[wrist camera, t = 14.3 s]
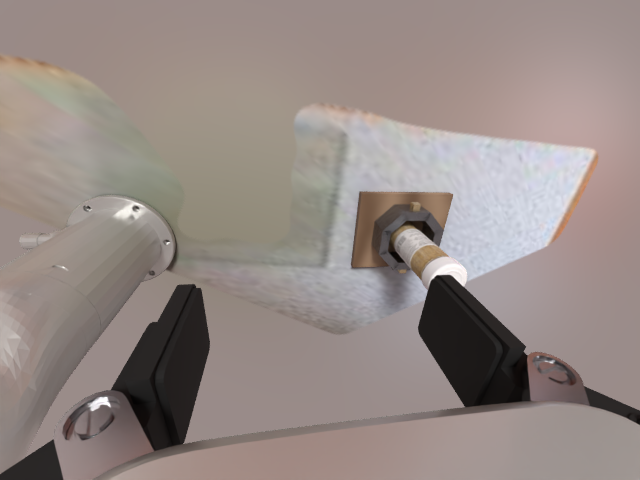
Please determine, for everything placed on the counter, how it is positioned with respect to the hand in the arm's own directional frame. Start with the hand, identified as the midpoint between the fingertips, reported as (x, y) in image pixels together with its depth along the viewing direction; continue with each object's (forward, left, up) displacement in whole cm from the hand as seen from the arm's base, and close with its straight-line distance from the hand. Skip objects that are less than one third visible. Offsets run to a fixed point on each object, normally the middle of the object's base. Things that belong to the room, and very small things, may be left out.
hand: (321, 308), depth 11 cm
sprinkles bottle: (+17, -9, -28) cm, 33 cm away
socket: (+17, -9, -28) cm, 34 cm away
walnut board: (+17, -9, -28) cm, 34 cm away
